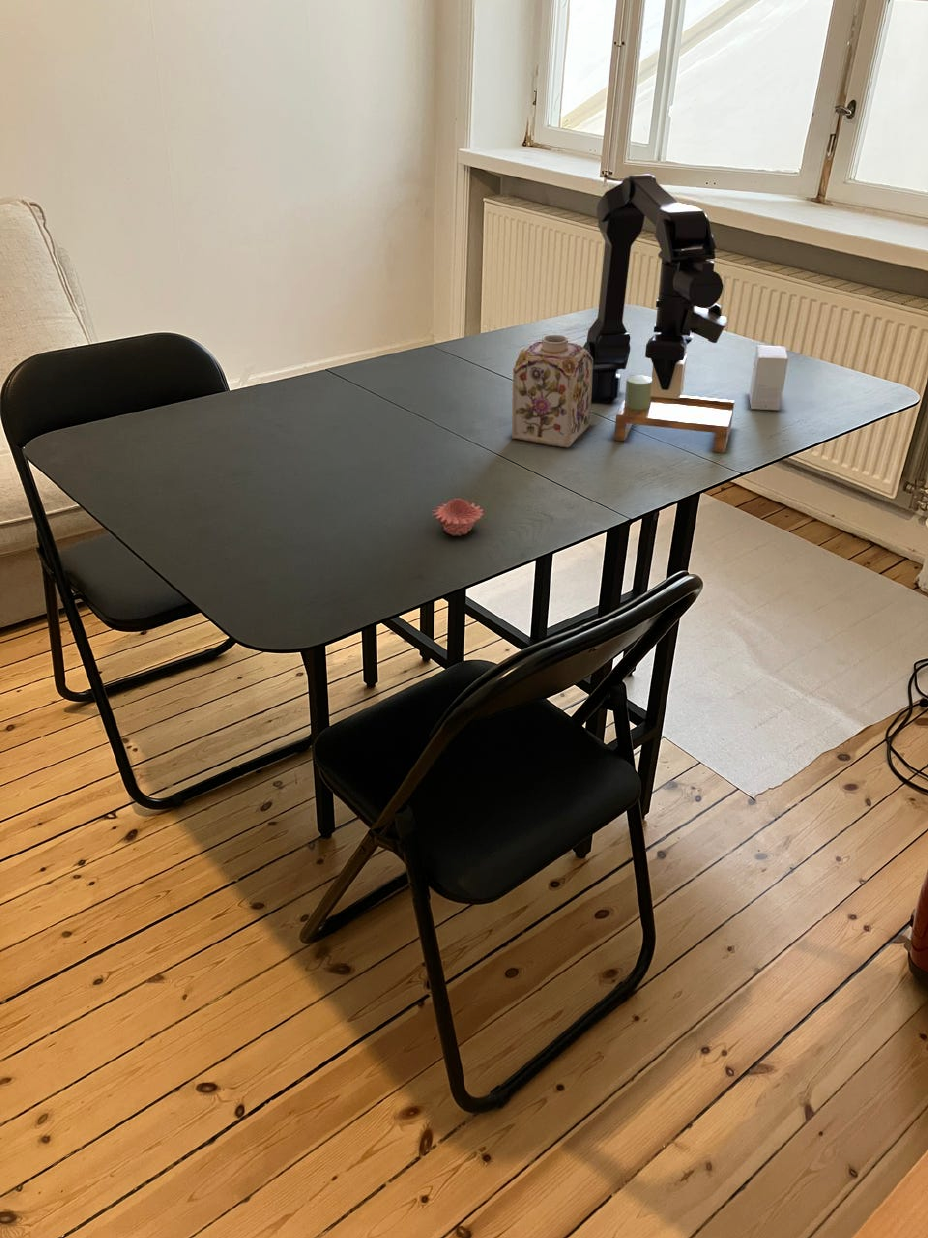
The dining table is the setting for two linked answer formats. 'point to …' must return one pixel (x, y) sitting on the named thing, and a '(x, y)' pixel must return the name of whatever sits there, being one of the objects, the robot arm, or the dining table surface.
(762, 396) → the small box
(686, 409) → the shelf
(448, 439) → the dining table surface
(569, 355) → the decorative jar
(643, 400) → the ceramic canister
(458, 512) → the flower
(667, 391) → the cream block
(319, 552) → the dining table surface
